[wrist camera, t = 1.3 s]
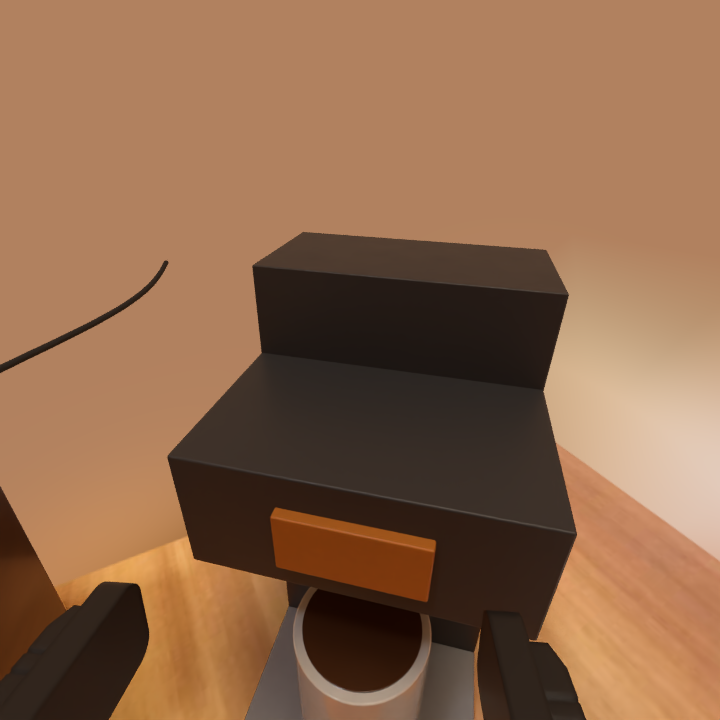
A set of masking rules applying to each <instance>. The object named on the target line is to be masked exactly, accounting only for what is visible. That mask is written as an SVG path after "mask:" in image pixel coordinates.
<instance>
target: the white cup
mask: <svg viewBox="0 0 720 720" xmlns="http://www.w3.org/2000/svg"><path fill="white" fill-rule="evenodd" d="M431 636H432V634H431V624H430V619H429V615H426V614H421V613H417V612H413V611H409V610H405V609H401V608H396V607H392V606H388V605H384V604H380V603H375V602H371V601H367V600H363V599H359V598H355V597H350V596H346V595H342V594H338V593H334V592H330V591H325V590H321V589H317V588H313V587H310V588H309V589H308V591H307V592H306V593H305V595H304V597H303V598H302V600H301V602H300V604H299V606H298V609H297V612H296V615H295V619H294V625H293V644H294V653H295V663H296V672H297V681H298V691H299V700H300V709H301V719H302V720H418V717H419V711H420V706H421V700H422V694H423V688H424V683H425V677H426V671H427V665H428V659H429V654H430V648H431Z"/></svg>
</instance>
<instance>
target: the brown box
mask: <svg viewBox="0 0 720 720" xmlns="http://www.w3.org/2000/svg"><path fill="white" fill-rule="evenodd" d="M64 612H66V609H65V607H64V605H63V603H62V601H61V599H60V597H59V596H58V594H57V592H56V590H55V588H54V586H53V584H52V582H51V580H50V579H49V577H48V575H47V573H46V571H45V569H44V567H43V565H42V564H41V562H40V560H39V558H38V556H37V554H36V552H35V550H34V549H33V547H32V545H31V543H30V541H29V539H28V538H27V535H26V534H25V532H24V530H23V528H22V526H21V524H20V522H19V520H18V519H17V517H16V515H15V513H14V511H13V509H12V507H11V505H10V504H9V502H8V500H7V498H6V496H5V494H4V492H3V490H2V489H1V487H0V681H1V680H2V679H3V678H4V676H5V675H6V674H9V673H10V672H11V668H12V667H13V666H14V665H15V663H16V662H17V661H18V660H19V659H20V658H21V656H22V655H23V654H24V653H25V654H26V653H27V652H28V648H29V647H30V646H31V645H32V643H33V642H34V641H35V640H36V639H37V637H38V636H39V635H40V634H41V633H42V632H43V630H44V629H45V628H46V627H47V626H48V625H49V624H50V623H51V622H53V621H54V620H55V619H57V618H58V617H59V616H60V615H62V614H63V613H64Z"/></svg>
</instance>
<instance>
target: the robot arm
mask: <svg viewBox="0 0 720 720" xmlns="http://www.w3.org/2000/svg"><path fill="white" fill-rule="evenodd" d="M167 265H168V261H164V263H163V265H162V267H161V268H160V270H159V271H158V273H157V274H156V276H155V277H154V278H153V279H152V280H151V282H150V283H149V284H148V285H147V286H146V287H144V288H143V289H142V290H141V291H140V292H139V293H137V294H136V295H134V296H133V297H132V298H130V299H129V300H127V301H126V302H124V303H123V304H121V305H120V306H118V307H116V308H114V309H113V310H111V311H109V312H107V313H106V314H104V315H102V316H100V317H98V318H97V319H94V320H93V321H91V322H89V323H87V324H85V325H83V326H81V327H79V328H77V329H75V330H73V331H70V332H68V333H66V334H64V335H62V336H60V337H58V338H56V339H54V340H52V341H50V342H48V343H46V344H43V345H41V346H39V347H37V348H35V349H33V350H31V351H28V352H26V353H24V354H22V355H20V356H18V357H16V358H14V359H12V360H9V361H8V362H5V363H3V364H1V365H0V373H1V372H3V371H5V370H7V369H9V368H12V367H14V366H15V365H17V364H19V363H21V362H24V361H26V360H28V359H30V358H32V357H34V356H36V355H38V354H40V353H42V352H44V351H46V350H48V349H50V348H53V347H55V346H56V345H59V344H60V343H63V342H65V341H67V340H68V339H71V338H73V337H75V336H77V335H79V334H81V333H83V332H84V331H87V330H88V329H90V328H92V327H94V326H96V325H98V324H100V323H102V322H103V321H105V320H107V319H109V318H110V317H112V316H114V315H115V314H117V313H119V312H121V311H122V310H124V309H125V308H127V307H128V306H130V305H131V304H133V303H134V302H135V301H137V300H138V299H140V298H141V297H142V296H143V295H144V294H146V293H147V292H148V291H149V290H150V289H151V288H152V287H153V286H154V285H155V284H156V282H157V281H158V280H159V278H160V277H161V275H162V274H163V272H164V271H165V269H166V267H167ZM148 641H149V628H148V623H147V619H146V614H145V609H144V604H143V600H142V595H141V590H140V587H139V586H138V585H137V584H134V583H120V582H102V583H101V584H99V585H98V586H97V587H96V588H95V589H94V591H93V592H92V593H91V594H90V596H89V597H88V598H87V599H86V601H85V602H84V603H83V604H82V605H81V606H76V605H74V606H72V607H71V608H70V609H68V610H67V611H66V612H64V613H63V614H62V615H60V616H59V617H58V618H57V619H55V620H54V621H53V622H51V623H50V624H49V625H48V626H47V627H46V628H45V629H44V630H43V632H42V633H41V634H40V635H39V636H38V637H37V639H36V640H35V641H34V642H33V643H32V645H31V646H30V647H29V648H28V652H27V653H26V654H25V653H24V654H23V655H22V656H21V658H20V659H19V660H18V661H17V662H16V663H15V665H14V666H13V667H12V668H11V672H10V673H9V674H6V675H5V676H4V678H3V679H2V680H1V681H0V720H109V718H110V716H111V715H112V713H113V711H114V709H115V708H116V706H117V704H118V702H119V701H120V699H121V697H122V695H123V694H124V692H125V690H126V688H127V687H128V685H129V683H130V681H131V680H132V678H133V676H134V674H135V673H136V671H137V669H138V667H139V666H140V664H141V662H142V660H143V658H144V655H145V653H146V649H147V646H148ZM477 673H478V686H479V694H480V700H481V706H482V712H483V718H484V720H586V718H585V716H584V713H583V710H582V707H581V705H580V703H579V702H578V697H577V694H576V691H575V688H574V686H573V683H572V680H571V678H570V675H569V672H568V669H567V668H566V666H565V665H564V664H563V662H562V661H561V660H560V658H559V657H558V656H557V654H556V653H555V652H554V650H553V649H552V648H551V646H550V645H549V644H548V643H542V642H529V638H528V635H527V632H526V628H525V625H524V622H523V619H522V617H521V615H520V613H519V612H508V611H494V610H484V612H483V617H482V625H481V634H480V642H479V651H478V660H477Z"/></svg>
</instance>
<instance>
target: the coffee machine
mask: <svg viewBox="0 0 720 720" xmlns="http://www.w3.org/2000/svg"><path fill="white" fill-rule="evenodd" d="M253 276H254V285H255V294H256V304H257V313H258V323H259V332H260V341H261V351H262V353H261V355H260V356H259V357H258V358H257V359H256V360H255V361H254V362H253V364H251V366H249V368H248V369H247V370H246V371H245V372H244V373H243V374H242V375H241V376H240V377H239V378H238V380H237V381H236V382H235V383H234V384H233V385H232V386H231V387H230V388H229V389H228V390H227V392H226V393H225V394H224V395H223V396H222V397H221V398H220V399H219V400H218V401H217V402H216V403H215V405H214V406H213V407H212V408H211V409H210V410H209V411H208V412H207V413H206V414H205V416H204V417H203V418H202V419H201V420H200V421H199V422H198V423H197V424H196V425H195V426H194V428H193V429H192V430H191V431H190V432H189V433H188V434H187V435H186V436H185V437H184V438H183V440H181V442H180V443H179V444H178V445H177V446H176V447H175V448H174V449H173V450H172V451H171V453H170V454H169V455H168V462H169V465H170V469H171V473H172V477H173V481H174V484H175V488H176V492H177V496H178V500H179V503H180V507H181V511H182V514H183V519H184V522H185V525H186V530H187V534H188V537H189V541H190V545H191V549H192V553H193V556H194V559H196V560H200V561H204V562H209V563H213V564H217V565H221V566H225V567H229V568H234V569H238V570H242V571H246V572H250V573H255V574H259V575H263V576H267V577H271V578H275V579H280V580H284V581H286V582H287V592H288V601H289V607H288V609H287V612H286V614H285V617H284V619H283V622H282V625H281V627H280V630H279V632H278V635H277V637H276V640H275V643H274V645H273V648H272V650H271V653H270V655H269V658H268V661H267V663H266V666H265V668H264V671H263V673H262V676H261V679H260V681H259V684H258V686H257V689H256V691H255V694H254V697H253V699H252V702H251V704H250V707H249V710H248V712H247V715H246V717H245V720H302V719H301V709H300V700H299V691H298V681H297V672H296V663H295V653H294V644H293V625H294V619H295V615H296V612H297V609H298V606H299V604H300V602H301V600H302V598H303V597H304V595H305V593H306V592H307V591H308V589H309V588H310V587H313V588H317V589H321V590H325V591H330V592H334V593H338V594H342V595H346V596H350V597H355V598H359V599H363V600H367V601H371V602H375V603H380V604H384V605H388V606H392V607H396V608H401V609H405V610H409V611H413V612H417V613H421V614H426V615H429V619H430V624H431V634H432V636H431V648H430V654H429V659H428V665H427V671H426V677H425V683H424V688H423V694H422V700H421V706H420V711H419V717H418V720H474V651H475V647H476V643H477V640H478V636H479V632H480V628H481V625H482V617H483V612H484V610H494V611H508V612H519V613H520V615H521V617H522V619H523V622H524V625H525V628H526V632H527V635H528V638H529V639H530V640H537V638H538V635H539V632H540V630H541V627H542V625H543V622H544V619H545V617H546V614H547V612H548V609H549V606H550V604H551V601H552V599H553V596H554V593H555V591H556V588H557V586H558V583H559V580H560V578H561V575H562V573H563V570H564V567H565V565H566V562H567V560H568V557H569V554H570V552H571V549H572V547H573V544H574V541H575V539H576V536H577V532H576V528H575V524H574V519H573V515H572V511H571V507H570V502H569V498H568V494H567V490H566V485H565V481H564V477H563V473H562V468H561V464H560V460H559V456H558V451H557V447H556V443H555V439H554V435H553V431H552V426H551V422H550V418H549V413H548V409H547V405H546V400H545V396H544V392H543V391H544V387H545V383H546V379H547V375H548V372H549V368H550V364H551V360H552V357H553V353H554V349H555V345H556V341H557V338H558V334H559V330H560V326H561V322H562V319H563V315H564V311H565V308H566V304H567V299H568V296H569V295H568V292H567V290H566V288H565V286H564V284H563V282H562V280H561V278H560V276H559V274H558V272H557V271H556V269H555V266H554V264H553V262H552V261H551V259H550V257H549V255H548V253H547V251H546V250H539V249H526V248H511V247H499V246H485V245H471V244H457V243H443V242H431V241H417V240H403V239H388V238H375V237H363V236H362V237H361V236H348V235H335V234H321V233H307V232H303V233H301V234H300V235H298V236H297V237H295V238H294V239H292V240H290V241H289V242H287V243H286V244H284V245H283V246H282V247H280V248H278V249H277V250H275V251H274V252H272V253H271V254H269V255H268V256H266V257H265V258H263V259H261V260H260V261H259V262H257V263H255V264H254V265H253Z"/></svg>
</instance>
